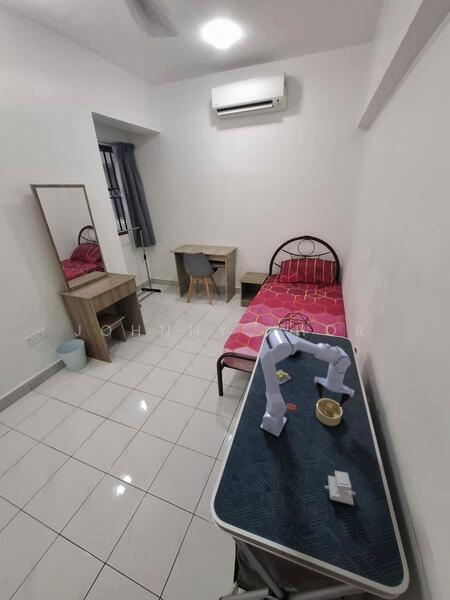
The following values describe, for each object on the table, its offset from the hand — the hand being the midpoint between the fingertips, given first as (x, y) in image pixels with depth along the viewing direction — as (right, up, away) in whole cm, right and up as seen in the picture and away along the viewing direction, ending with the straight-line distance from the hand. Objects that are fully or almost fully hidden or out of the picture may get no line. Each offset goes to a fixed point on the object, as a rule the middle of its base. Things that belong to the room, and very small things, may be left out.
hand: (330, 401), depth 99 cm
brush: (+1, -7, +3) cm, 8 cm away
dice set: (-15, +2, +26) cm, 30 cm away
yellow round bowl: (+1, -8, +4) cm, 9 cm away
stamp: (-7, -21, -22) cm, 31 cm away
